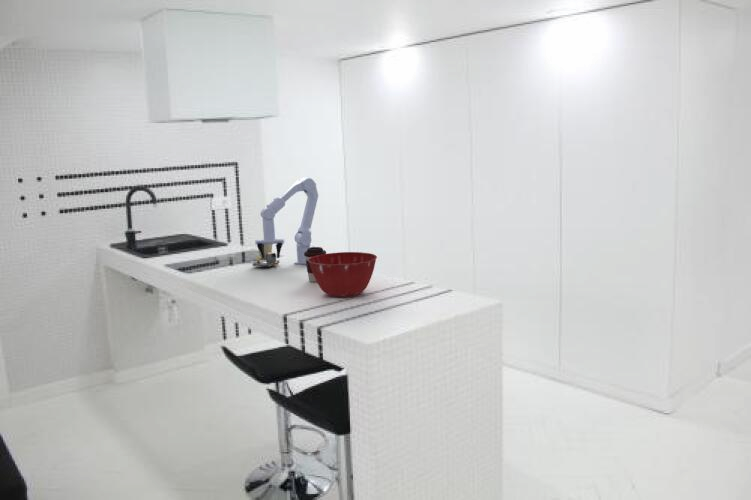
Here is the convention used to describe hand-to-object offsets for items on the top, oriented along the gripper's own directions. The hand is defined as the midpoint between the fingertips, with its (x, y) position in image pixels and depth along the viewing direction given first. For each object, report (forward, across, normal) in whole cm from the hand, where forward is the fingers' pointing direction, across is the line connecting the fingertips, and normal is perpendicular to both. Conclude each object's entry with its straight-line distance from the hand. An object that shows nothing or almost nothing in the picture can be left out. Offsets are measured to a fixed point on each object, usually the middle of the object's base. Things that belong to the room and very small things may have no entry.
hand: (271, 257), depth 341 cm
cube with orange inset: (+2, 0, 0) cm, 2 cm away
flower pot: (+5, +9, -25) cm, 28 cm away
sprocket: (+4, +3, -1) cm, 5 cm away
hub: (+5, +3, -1) cm, 6 cm away
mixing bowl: (+5, -46, +60) cm, 75 cm away
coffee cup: (+5, -29, +34) cm, 45 cm away
